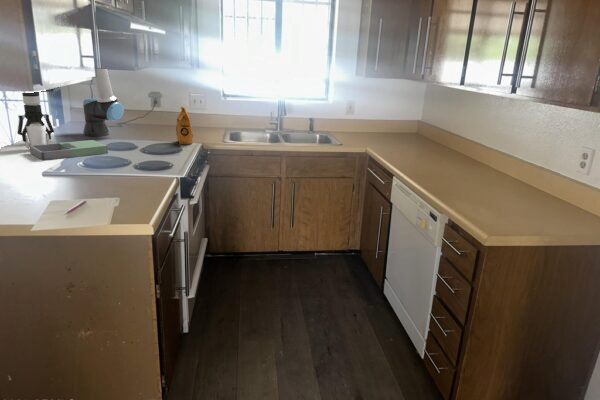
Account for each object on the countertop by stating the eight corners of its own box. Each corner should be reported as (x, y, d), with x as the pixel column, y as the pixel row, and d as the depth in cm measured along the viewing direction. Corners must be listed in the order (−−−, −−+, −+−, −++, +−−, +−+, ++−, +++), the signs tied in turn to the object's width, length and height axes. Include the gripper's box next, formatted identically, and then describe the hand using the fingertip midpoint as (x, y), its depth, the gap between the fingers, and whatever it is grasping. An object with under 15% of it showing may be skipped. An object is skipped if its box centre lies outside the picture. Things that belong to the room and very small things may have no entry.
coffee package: (176, 144, 262) (175, 108, 255) (176, 140, 273) (175, 105, 266) (193, 144, 264) (192, 108, 258) (192, 140, 276) (191, 106, 269)
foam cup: (27, 151, 224) (23, 126, 220) (28, 148, 232) (25, 124, 228) (48, 150, 229) (45, 126, 225) (49, 147, 236) (45, 123, 232)
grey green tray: (93, 146, 244) (93, 139, 242) (108, 153, 231) (107, 145, 230) (30, 153, 221) (29, 145, 220) (42, 160, 209) (41, 152, 208)
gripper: (52, 102, 233) (58, 143, 240) (5, 104, 218) (12, 147, 225) (57, 104, 228) (62, 145, 235) (9, 105, 213) (16, 150, 220)
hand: (38, 146), depth 230 cm, fingers closed on foam cup, 9 cm apart
